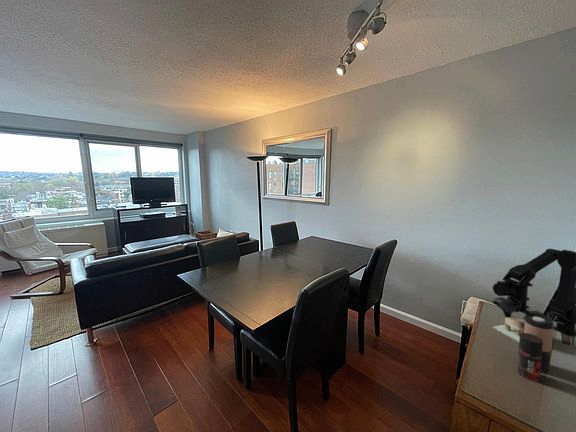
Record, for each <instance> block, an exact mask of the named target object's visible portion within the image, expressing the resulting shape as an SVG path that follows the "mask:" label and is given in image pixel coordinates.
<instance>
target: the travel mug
mask: <svg viewBox="0 0 576 432" xmlns="http://www.w3.org/2000/svg"><path fill="white" fill-rule="evenodd" d="M524 315H525V316H524V317H525V319H524V320H525V325H524V333H529V334H532V335H535V336H537V337H539V338H541V339H542V340H543V345H542V359H541V372H540V373H548V372H549V370H550V366H551V365H550V364H551V356H552V350H553V348H552V347H553V334H554V329H553V327H554V320H553V319H552V318H550V317H548V316H547V315H546V316H543V315H540V314H535V313H527V314H524Z"/></svg>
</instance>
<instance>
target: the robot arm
mask: <svg viewBox="0 0 576 432" xmlns="http://www.w3.org/2000/svg"><path fill="white" fill-rule="evenodd" d="M556 261H557V264H558V265H559V267H560V274H559V281H558V288H557V294H556V295H557V296H556V297H555V298H553V299H550V300H549V305H548V307H549V310H550V312H551V315H552V316H555V317H557V318H556V326H553V330H556V331H557V332H560V333H563V334H565V335H567V336H574V335H576V303H575V301H574V298H575V297H574V296H575V290H576V251H573V250H568V249H562V250H559V249H554V248H547V249H545V251H543V253H541V254H539V255H538V256H536V257H534V258H533V259H531V260H530V261H528V262H527V263H524V264H517V265H516V266H513V267H511V268H510V269H509V270H508V271H507V273H506V274H505V275H504V277H502V280H497V281H496V283H494V284H493V286H492V291H493V292H494V294H495V295H496V296H499V297H494V298H493V300H492V303H493V305H496V306H497V307H498V308H499V309H500V310H502V312H503V315H504V318H506V317H512V314H513V313H519V312H520V313H523V314H524V315H526V314H527V313H535V314H540V315H543V316H546V317H547V314H545V313H542V312H540V311H538V310H532V311H531V310H529V308H530V307H529V306H528V301H530V297H528V289H529V287H533V286H534V285H533V284H532V283H531V281H532V280H534V279H535V278H536V274H537V273H538V272H540V271H541V270H543V269H544V268H546V267H548V266H549V265H551V264H552V263H554V262H556ZM505 297H507V298H505ZM522 319H523V320H525V316H524V317H522Z"/></svg>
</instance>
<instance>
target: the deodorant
mask: <svg viewBox="0 0 576 432" xmlns="http://www.w3.org/2000/svg"><path fill="white" fill-rule="evenodd" d="M542 345H543V340H542V339H541V338H539V337H537V336H535V335H532V334H529V333H520V339H519V342H518V356H517V373H518V375H519V376H521V377H523V378H524V379H526V380H528V381H532V382H540V380H541V373H542V372H541V359H542Z"/></svg>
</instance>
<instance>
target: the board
mask: <svg viewBox="0 0 576 432" xmlns="http://www.w3.org/2000/svg"><path fill="white" fill-rule="evenodd" d="M494 328H495V329H494ZM492 329H494V330H496V329H497V330H496V331H498V332H499V331H500V333H502V335H503V334H504V335H506V337H508V338H511V339H513V340H515V341H516V342H518V343H519V339H520V336H517V335H515V329H513V328H512V327H511V331H507V330H505V324H502V325H501V324H500V325H495V326H492ZM521 333H523V330H521Z"/></svg>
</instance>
